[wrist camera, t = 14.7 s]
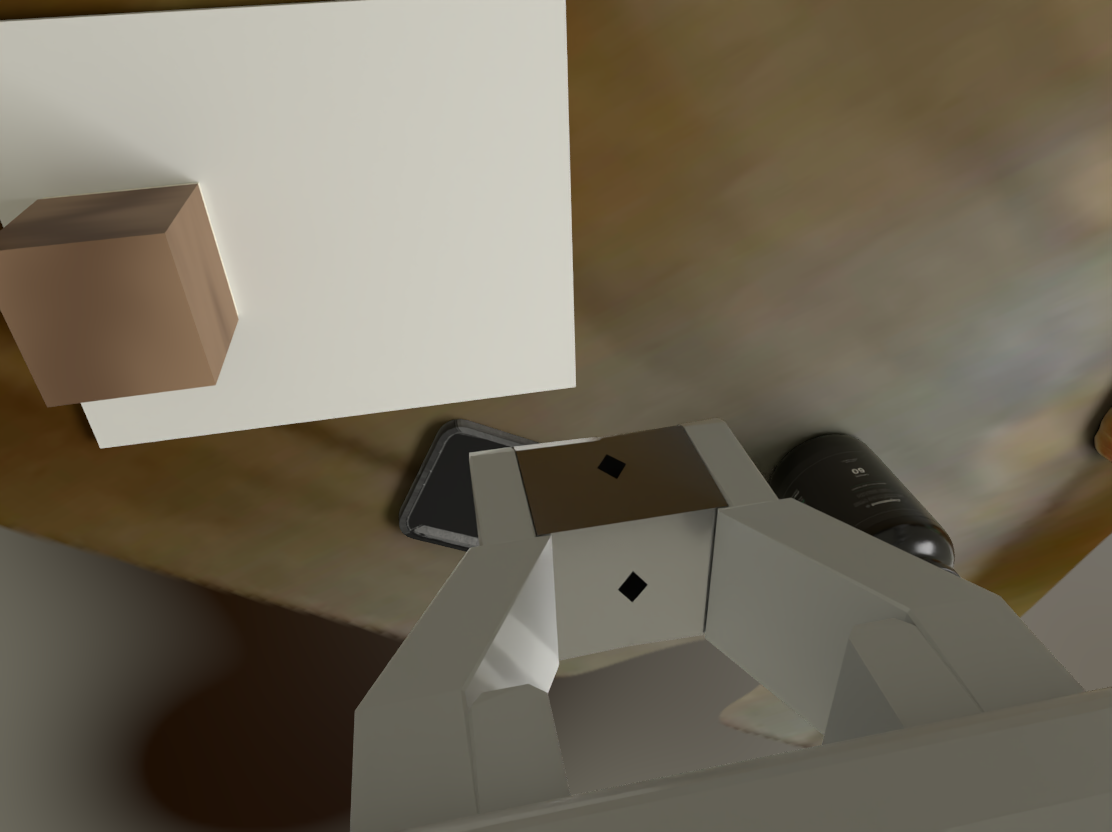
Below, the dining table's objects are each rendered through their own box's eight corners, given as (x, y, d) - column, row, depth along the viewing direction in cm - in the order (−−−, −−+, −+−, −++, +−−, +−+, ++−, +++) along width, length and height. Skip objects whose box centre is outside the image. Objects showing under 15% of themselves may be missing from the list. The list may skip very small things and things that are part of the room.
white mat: (562, -13, 31) (565, -12, 30) (573, 380, 41) (575, 386, 40) (-76, 25, 28) (-85, 26, 27) (104, 441, 37) (100, 448, 37)
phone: (623, 589, 49) (392, 534, 43) (618, 576, 50) (392, 521, 44) (688, 494, 45) (448, 420, 40) (681, 482, 46) (447, 408, 40)
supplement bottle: (887, 431, 47) (1023, 571, 37) (848, 520, 50) (963, 670, 40) (784, 428, 45) (897, 574, 35) (751, 520, 48) (846, 677, 39)
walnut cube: (-27, 253, 26) (41, 196, 31) (47, 407, 29) (97, 332, 34) (164, 233, 26) (199, 180, 31) (215, 385, 30) (239, 315, 35)
